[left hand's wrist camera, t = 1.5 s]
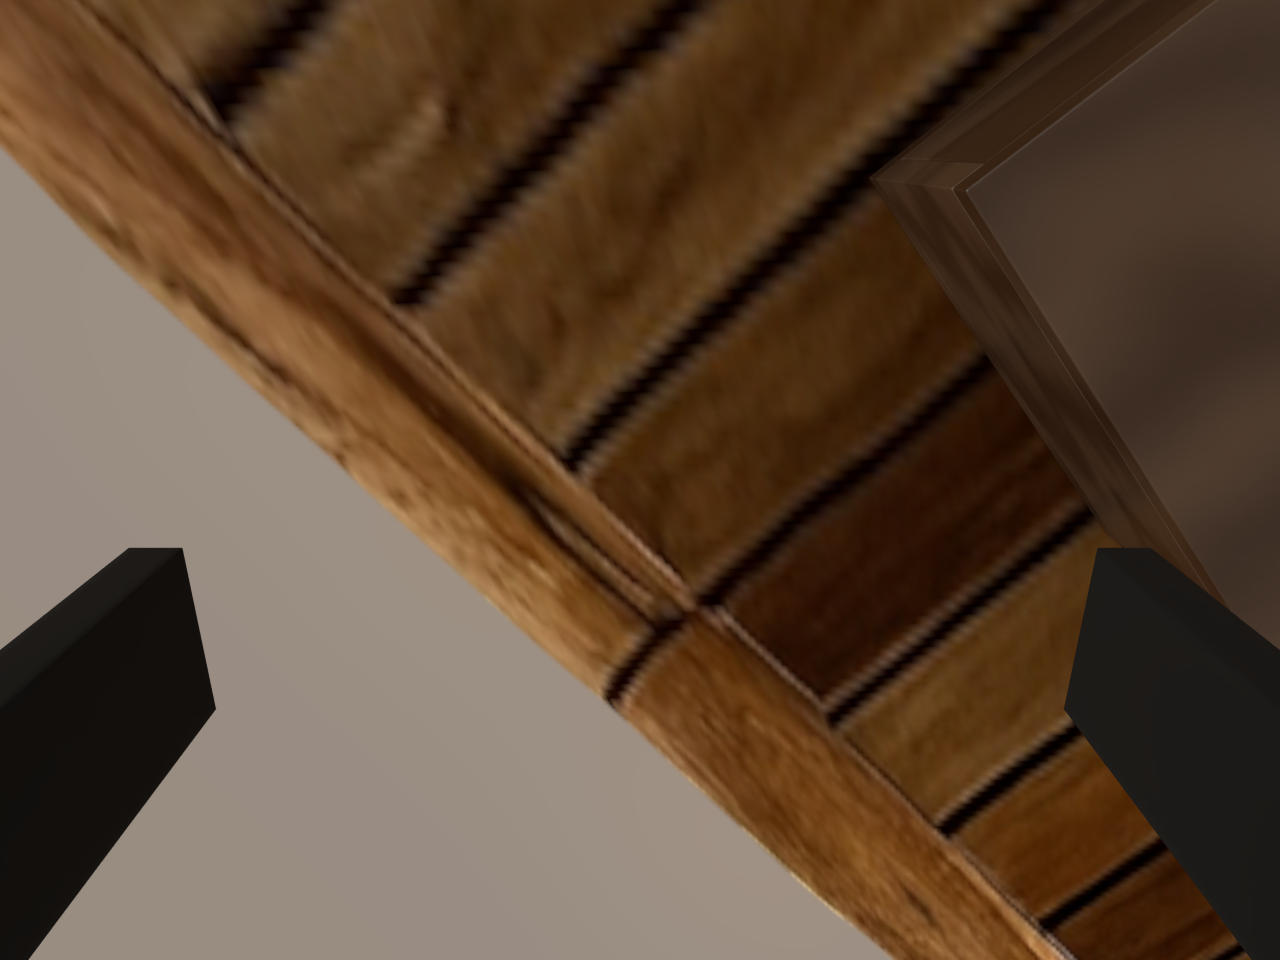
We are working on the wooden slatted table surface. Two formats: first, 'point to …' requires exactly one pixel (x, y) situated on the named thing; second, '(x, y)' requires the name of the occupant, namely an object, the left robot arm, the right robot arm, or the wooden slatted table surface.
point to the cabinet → (1130, 270)
